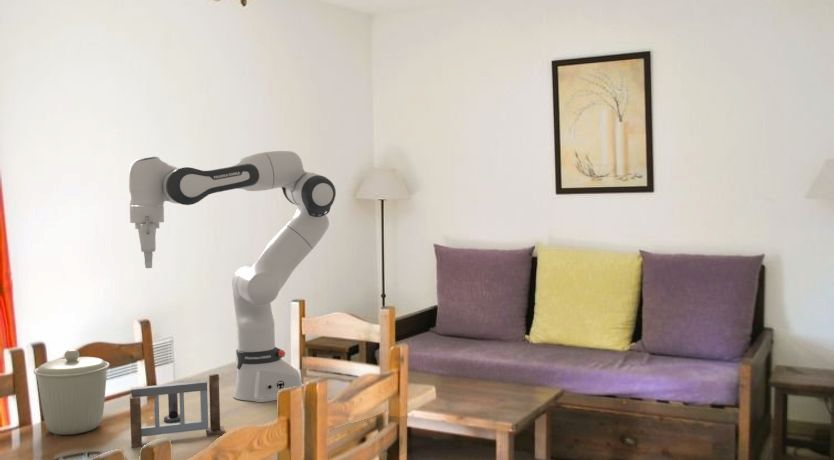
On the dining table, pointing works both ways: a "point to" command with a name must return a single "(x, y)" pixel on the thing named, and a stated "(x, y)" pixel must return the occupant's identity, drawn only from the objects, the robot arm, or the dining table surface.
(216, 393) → the gate frame
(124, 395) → the dining table surface
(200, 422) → the gate
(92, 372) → the canister
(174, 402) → the stop post
